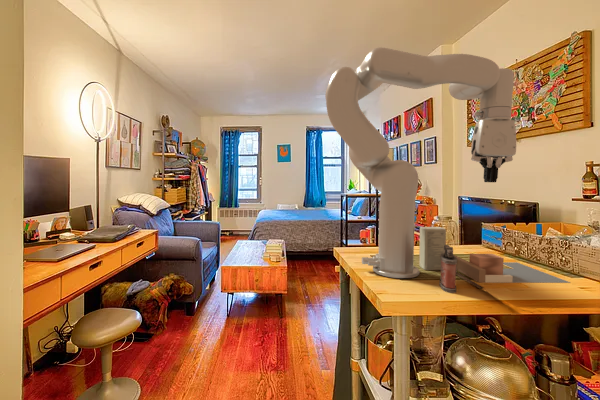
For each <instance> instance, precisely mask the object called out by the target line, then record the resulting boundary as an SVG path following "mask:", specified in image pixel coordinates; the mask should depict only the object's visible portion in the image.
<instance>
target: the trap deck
mask: <svg viewBox="0 0 600 400" xmlns="http://www.w3.org/2000/svg"><path fill="white" fill-rule="evenodd" d="M453 255H454V256H455V257H456V258H457V264H456V267H457V271H458V272H457V273H456V276H457V277H459V278H461V279H462V280H463V281H466V282H467V283H469V284H471V285H472V286H474V287H476V288H477V289H484V286H482V285H480V284H479V283H486V284H487V283H496V284H498V283H508V284H510V283H513V284H514V283H518V284H519V283H523V284H524V283H529V284H530V283H533V284H535V283H539V284H540V283H542V284H543V283H545V284H547V283H548V284H551V283H552V284H553V283H554V284H559V283H560V284H561V283H562V284H567V283H568V284H571V281H569V280H565V279H563V278H559V277H557V276H554V275H552V274H549V273H546V272H544V271H542V270H539V269H536V268H533V267H530V266H528V265H526V264H523V263H520V262H516V261H515V262H513V261H511V262H509V261H507V262H505V261H503V266H507V267H509V268H503V275H486V270H485V269H482V268H480V267H478V266H476V265H474V264H472V263H470V262H469V261H468V260H466V259H463V258H461V257H460V256H457V255H455V254H453ZM459 272H460V273H459ZM464 275H465V276H464ZM466 276H467V277H466ZM469 278H470V279H469ZM473 280H474V281H473ZM475 281H476V282H475Z"/></svg>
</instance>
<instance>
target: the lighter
mask: <svg viewBox="0 0 600 400" xmlns="http://www.w3.org/2000/svg"><path fill="white" fill-rule="evenodd" d="M454 255H455V254H454V247H453V246H450V245H449V244H446V245H444V253H441V254H440V259H441V270H440V279H439V287H440V289H442V290H443V292H446V293H450V294H454V293H457V285H456V280H457V279H456V278H457V277H456V276H457V275H456V273H457V271H458V270H457V267H456V264H457V258H456V257H455V256H456V255H455V256H454Z"/></svg>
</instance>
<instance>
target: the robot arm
mask: <svg viewBox="0 0 600 400" xmlns="http://www.w3.org/2000/svg"><path fill="white" fill-rule="evenodd" d="M514 79H515V73H514V71H513V70H512V69H510V68H505V67H501V68H500V67H499V65H498V64H497V63H496V62H495V61H494V60H492V59H489V58H487V57H484V56H483V57H482V56H478V55H474V54H467V53H449V54H435V55H422V54H417V53H411V52H406V51H403V50H399V49H393V48H388V47H382V46H381V47H379V46H378V47H375V48H373V49H371V50H370V51H369V52H368V53H367V54H366V56H365V58H364V59H363V61H362V62H361V64H360V65H359V66H358V67H356V68H355V69H353V68H352V67H349V66H342V67H339V68H337V69H336V70H335V71H334V72H333V73H332V75H331V76H330V79H329V82H328V84H327V87H326V89H325V102H326V103H325V105H326V112H327V116H328V119H329V121H330V124H331V125H332V127H333V128H334V130H335V132H336V133H337V134H338V135H339V137H341V139H342V140H343V141H344V142H345V144H346V145H347V146H348V147H349V148H348V156H349V160H350V161H351V162H352V164H353V165H354V166H355V168H356V169H357V170H358V171H359V172H360V173H361V174H362V175H363V176H364V178H365V179H366V180H367V182H369V184H370V185H372V187H374V188H375V190H377V191H378V192H380V197H379V208H378V253H375V256H374V255H373V256H372V257H367V256H366V257H364V256H363V257H361V265H367V266H371V267H372V271H373V272H374V273H375V274H377V275H378V276H379V275H380V276H383V277H388V278H393V279H411V278H416V277H418V276H419V275H420V269H419V268H418V267H416V266H415V265H414V261H415V260H414V258H415V257H414V255H415V253H414V252H415V248H414V247H415V212H416V211H415V209H416V198H417V192H418V187H419V175H418V174H419V173H418V171H417V169H416V167H415V166H414V165H413V164H412V163H411V162H409V161H406V160H402V159H397V160H396V159H395V160H391V158H389V154H390V145H389V143H388V141H387V139H386V138H385V137H384V135H383V134H382V133H381V132H379V130H378V129H377V128H376V127H375V125H373V124H372V122H371V121H370V120H369V119H368V117H366V116H367V115H365V114H364V113H363V111H362V110H361V109H362V108H360V105H359V101H360V100H362V99H363V98H365V97H367V96H368V95H370V94H371V93H373V92H374V91H376V90H377V89H378V88H379V87H380V86H382V85H383V84H386V85H387V84H388V85H394V86H399V87H403V88H408V89H412V90H421V89H425V88H427V89H428V88H430V87H435V86H438V85H446V84H449V85H448V91H449V94H450V96H451V97H452V98H454V99H455V100H458V101H469V100H475V99H476V100H477V99H479V110H478V111H475V113H474V117H475V118H478V121H477V122H476V123H475V126H474V129H473V135H472V141H471V147H470V148H471V150H470V151H471V152H470V153H471V154H470V155H471V157H470V158H471V159H470V160H471V161H474V162H476V163H477V162H478V163H479V164H480V165H481V168H482V169H483V181H484V183H497V180H498V178H499V168H501V167H502V166H503V164H505V163H508V162H512V161H513V160H514V158H513V156H515V155H516V153H517V129H516V122H515V120H514V119H512V108H513V107H512V104H513V96H514V94H513V91H514V81H515V80H514Z"/></svg>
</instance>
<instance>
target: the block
mask: <svg viewBox="0 0 600 400" xmlns="http://www.w3.org/2000/svg"><path fill="white" fill-rule="evenodd" d="M504 259H505V258H504V257H502V256H499V255H496V254H494V253H469V261H468V262H470V263H472V264H474V265H476V266H478V267H480V268H482V269H485V270H486V275H503V269H504V264H503V262H505V261H504Z"/></svg>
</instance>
